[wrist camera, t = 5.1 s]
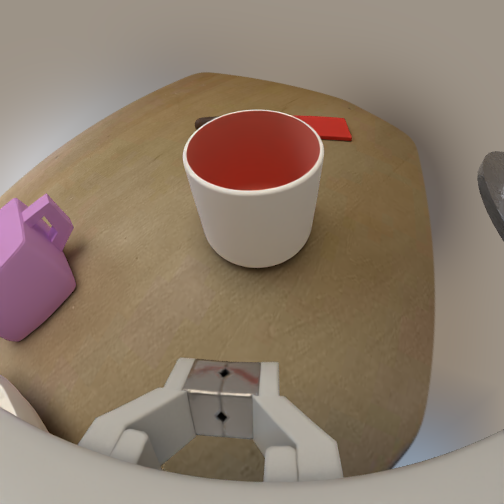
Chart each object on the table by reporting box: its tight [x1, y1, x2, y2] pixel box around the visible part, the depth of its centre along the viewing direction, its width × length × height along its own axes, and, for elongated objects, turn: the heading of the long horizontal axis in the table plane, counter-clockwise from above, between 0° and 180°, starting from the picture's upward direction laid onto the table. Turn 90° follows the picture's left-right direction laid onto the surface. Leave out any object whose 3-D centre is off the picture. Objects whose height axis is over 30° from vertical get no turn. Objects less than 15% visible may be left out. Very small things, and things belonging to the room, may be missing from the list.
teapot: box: [0, 193, 76, 341], centre depth 21 cm, size 18×10×10 cm, turn 133°
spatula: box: [195, 116, 352, 141], centre depth 36 cm, size 21×5×2 cm, turn 88°
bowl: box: [0, 375, 49, 433], centre depth 12 cm, size 18×18×7 cm
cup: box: [183, 110, 324, 268], centre depth 24 cm, size 10×10×10 cm
